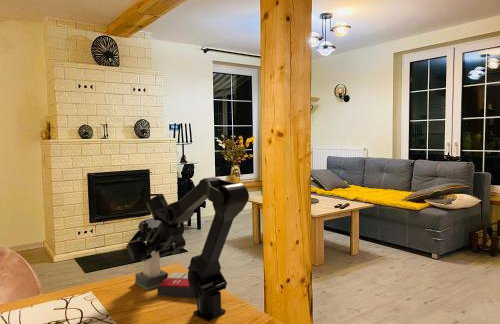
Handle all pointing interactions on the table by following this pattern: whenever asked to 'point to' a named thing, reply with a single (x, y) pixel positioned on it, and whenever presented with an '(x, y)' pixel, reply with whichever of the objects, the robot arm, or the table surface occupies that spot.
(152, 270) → the plug
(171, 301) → the table surface
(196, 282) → the robot arm
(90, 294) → the table surface
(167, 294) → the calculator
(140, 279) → the grey and green tray
